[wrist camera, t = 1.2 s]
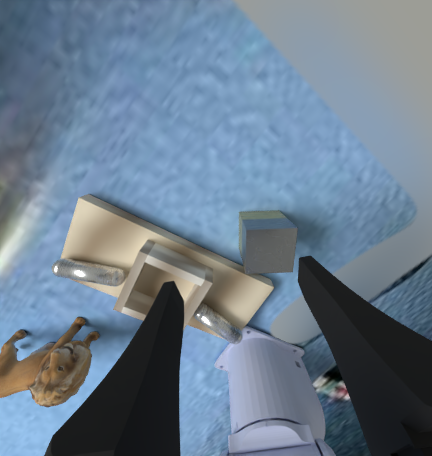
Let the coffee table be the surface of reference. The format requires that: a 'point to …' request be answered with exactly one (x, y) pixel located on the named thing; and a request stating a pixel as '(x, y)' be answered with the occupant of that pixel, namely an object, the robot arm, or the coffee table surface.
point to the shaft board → (160, 266)
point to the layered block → (266, 242)
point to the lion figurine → (47, 367)
